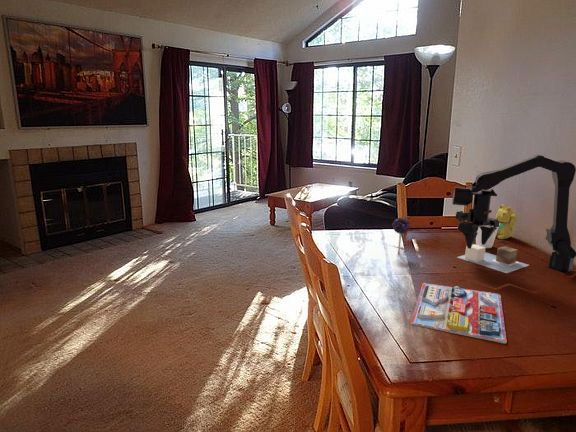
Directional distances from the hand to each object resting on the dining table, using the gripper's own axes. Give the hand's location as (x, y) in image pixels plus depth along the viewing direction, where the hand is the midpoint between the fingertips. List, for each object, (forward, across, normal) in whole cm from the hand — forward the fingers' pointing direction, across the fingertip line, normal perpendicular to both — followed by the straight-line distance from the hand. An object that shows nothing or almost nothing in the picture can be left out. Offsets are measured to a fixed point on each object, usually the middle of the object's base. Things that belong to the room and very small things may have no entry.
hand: (476, 246), depth 159 cm
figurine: (+6, -42, -12) cm, 45 cm away
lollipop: (+6, +19, -21) cm, 29 cm away
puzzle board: (+7, +43, +22) cm, 49 cm away
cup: (+6, -20, -8) cm, 22 cm away
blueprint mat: (+6, -4, +5) cm, 9 cm away
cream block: (+5, 0, 0) cm, 5 cm away
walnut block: (+5, -8, +8) cm, 12 cm away
